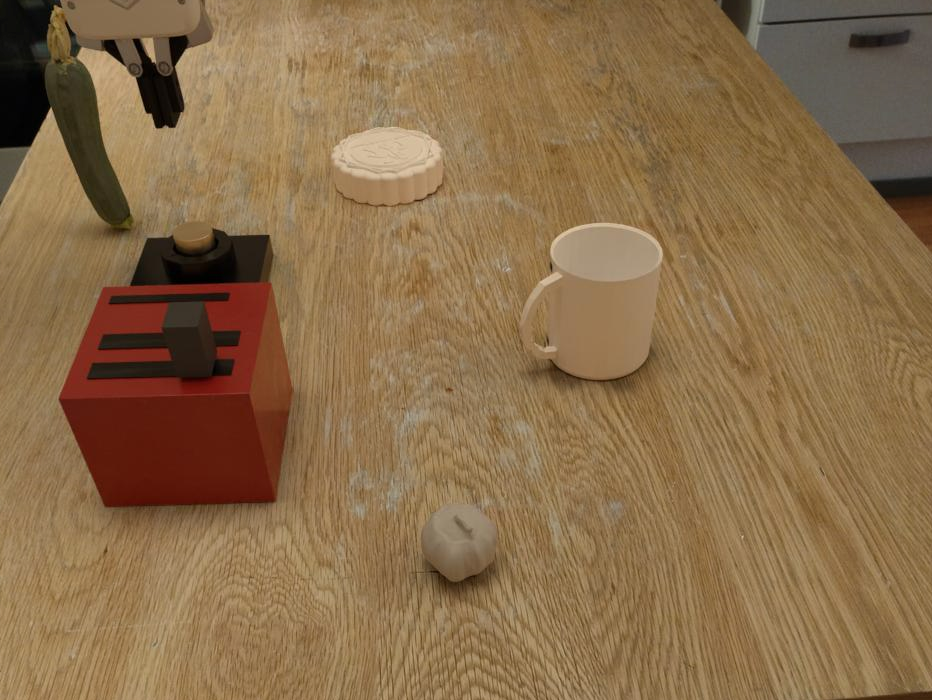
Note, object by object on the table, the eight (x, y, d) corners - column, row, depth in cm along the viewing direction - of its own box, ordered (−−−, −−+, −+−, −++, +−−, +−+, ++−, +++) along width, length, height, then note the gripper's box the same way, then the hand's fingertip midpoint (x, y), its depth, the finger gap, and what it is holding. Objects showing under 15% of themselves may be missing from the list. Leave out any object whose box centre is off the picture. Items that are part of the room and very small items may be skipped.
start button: (174, 259, 89) (169, 241, 87) (180, 239, 91) (175, 221, 90) (213, 258, 89) (208, 240, 87) (218, 238, 91) (214, 220, 90)
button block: (133, 315, 89) (120, 275, 86) (153, 258, 96) (141, 219, 93) (262, 311, 89) (253, 271, 86) (273, 255, 96) (266, 216, 93)
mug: (627, 314, 88) (639, 216, 81) (664, 371, 83) (680, 271, 76) (501, 335, 86) (502, 236, 79) (530, 395, 81) (533, 295, 74)
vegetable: (106, 244, 98) (31, 22, 82) (86, 229, 100) (10, 9, 84) (145, 229, 99) (79, 9, 84) (124, 214, 101) (57, -4, 86)
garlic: (502, 591, 67) (502, 538, 63) (424, 597, 67) (420, 544, 63) (494, 531, 71) (494, 477, 67) (421, 536, 71) (416, 482, 67)
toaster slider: (176, 378, 66) (160, 327, 63) (183, 352, 68) (168, 301, 65) (211, 377, 66) (197, 326, 63) (217, 351, 68) (204, 300, 65)
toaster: (104, 507, 73) (57, 397, 65) (140, 393, 82) (102, 285, 74) (275, 502, 73) (248, 392, 65) (292, 389, 82) (271, 280, 74)
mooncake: (355, 217, 100) (351, 182, 98) (319, 168, 107) (314, 135, 104) (460, 192, 103) (459, 158, 100) (419, 147, 110) (417, 114, 107)
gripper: (-30, -136, 64) (69, 145, 79) (193, -146, 64) (251, 137, 79) (2, -164, 69) (90, 106, 83) (209, -174, 69) (262, 98, 83)
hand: (168, 120), depth 81 cm, fingers closed
